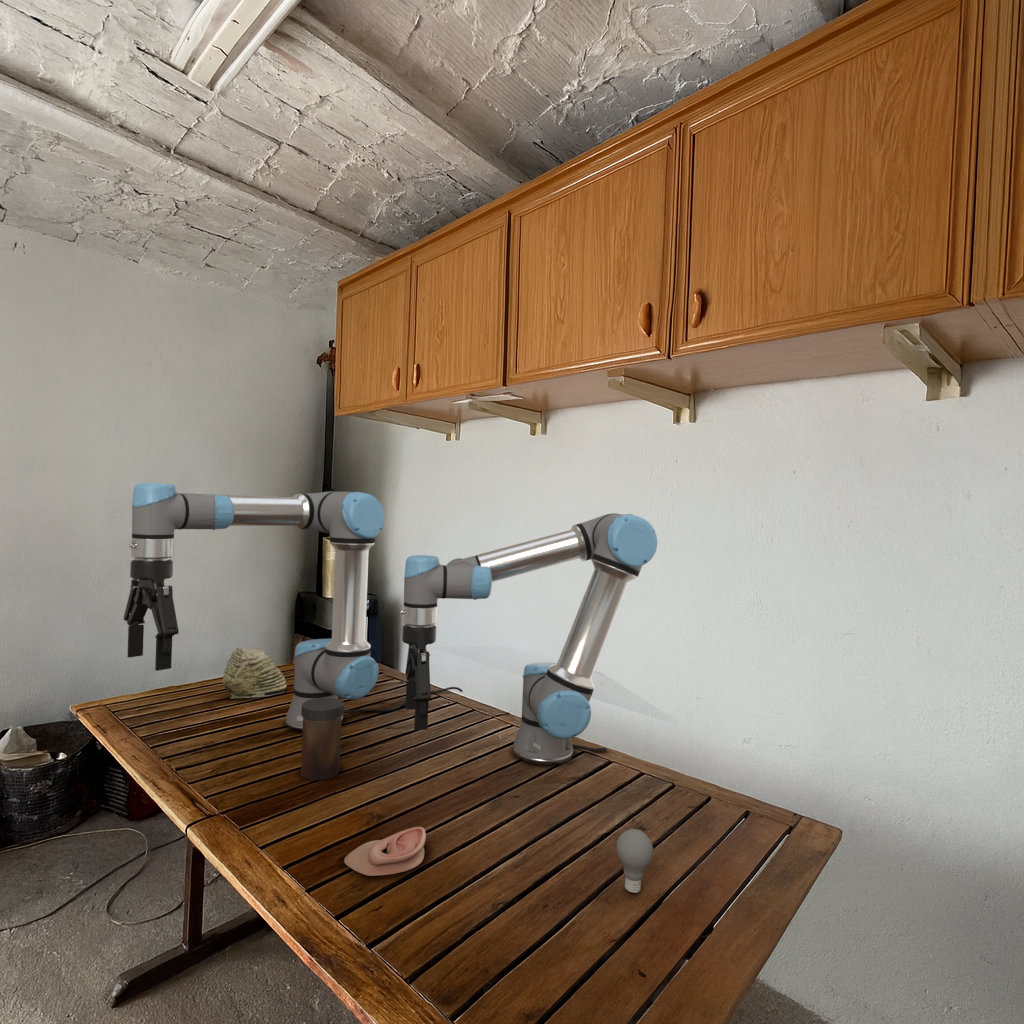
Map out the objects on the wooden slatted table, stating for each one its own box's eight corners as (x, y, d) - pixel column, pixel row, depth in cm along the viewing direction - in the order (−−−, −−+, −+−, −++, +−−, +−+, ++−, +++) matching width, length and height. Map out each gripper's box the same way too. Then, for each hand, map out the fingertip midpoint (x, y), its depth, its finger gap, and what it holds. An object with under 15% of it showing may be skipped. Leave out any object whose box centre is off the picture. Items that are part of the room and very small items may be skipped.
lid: (350, 716, 145) (350, 706, 145) (310, 723, 139) (311, 713, 139) (333, 704, 152) (333, 695, 152) (295, 711, 146) (295, 701, 146)
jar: (345, 774, 145) (348, 707, 145) (309, 783, 140) (311, 714, 139) (330, 761, 151) (333, 697, 151) (295, 769, 146) (297, 703, 146)
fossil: (218, 695, 195) (220, 647, 195) (278, 685, 208) (279, 640, 207) (228, 703, 189) (230, 653, 188) (289, 692, 201) (290, 645, 201)
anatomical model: (336, 847, 108) (365, 815, 119) (335, 870, 108) (364, 836, 119) (410, 859, 105) (432, 825, 116) (409, 883, 105) (431, 846, 116)
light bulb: (610, 879, 108) (613, 822, 108) (644, 879, 109) (647, 822, 109) (619, 902, 102) (622, 840, 102) (655, 901, 103) (658, 840, 103)
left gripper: (108, 554, 134) (104, 654, 134) (159, 565, 118) (155, 678, 119) (146, 552, 140) (143, 648, 140) (199, 563, 124) (195, 671, 124)
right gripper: (395, 614, 153) (392, 701, 153) (411, 637, 129) (407, 740, 129) (426, 614, 155) (423, 700, 155) (447, 636, 131) (443, 737, 132)
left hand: (148, 662), depth 129 cm, fingers open, 13 cm apart
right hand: (415, 718), depth 142 cm, fingers open, 13 cm apart
